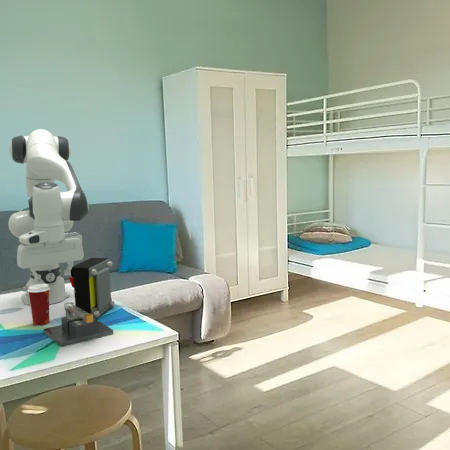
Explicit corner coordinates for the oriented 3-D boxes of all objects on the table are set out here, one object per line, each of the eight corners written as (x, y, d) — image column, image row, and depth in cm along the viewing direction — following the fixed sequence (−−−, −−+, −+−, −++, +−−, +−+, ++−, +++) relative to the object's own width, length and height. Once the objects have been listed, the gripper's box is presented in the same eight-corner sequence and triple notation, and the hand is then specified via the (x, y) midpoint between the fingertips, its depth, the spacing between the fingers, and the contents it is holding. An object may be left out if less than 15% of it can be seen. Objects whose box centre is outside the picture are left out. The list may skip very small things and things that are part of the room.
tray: (43, 333, 176) (42, 315, 175) (92, 321, 187) (91, 304, 186) (61, 346, 163) (60, 327, 162) (113, 333, 174) (112, 315, 173)
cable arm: (63, 309, 179) (62, 303, 179) (71, 307, 181) (71, 301, 181) (85, 323, 164) (85, 316, 164) (94, 320, 166) (94, 314, 166)
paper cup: (56, 322, 187) (53, 285, 185) (36, 328, 181) (33, 290, 179) (45, 318, 192) (43, 282, 190) (26, 323, 187) (23, 286, 185)
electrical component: (96, 320, 188) (93, 268, 185) (71, 319, 190) (68, 267, 187) (116, 306, 205) (113, 258, 202) (92, 305, 207) (89, 257, 204)
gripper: (77, 230, 167) (80, 271, 169) (13, 237, 155) (17, 281, 157) (85, 232, 163) (88, 274, 164) (19, 239, 150) (23, 285, 152)
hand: (53, 278), depth 160 cm, fingers open, 8 cm apart
